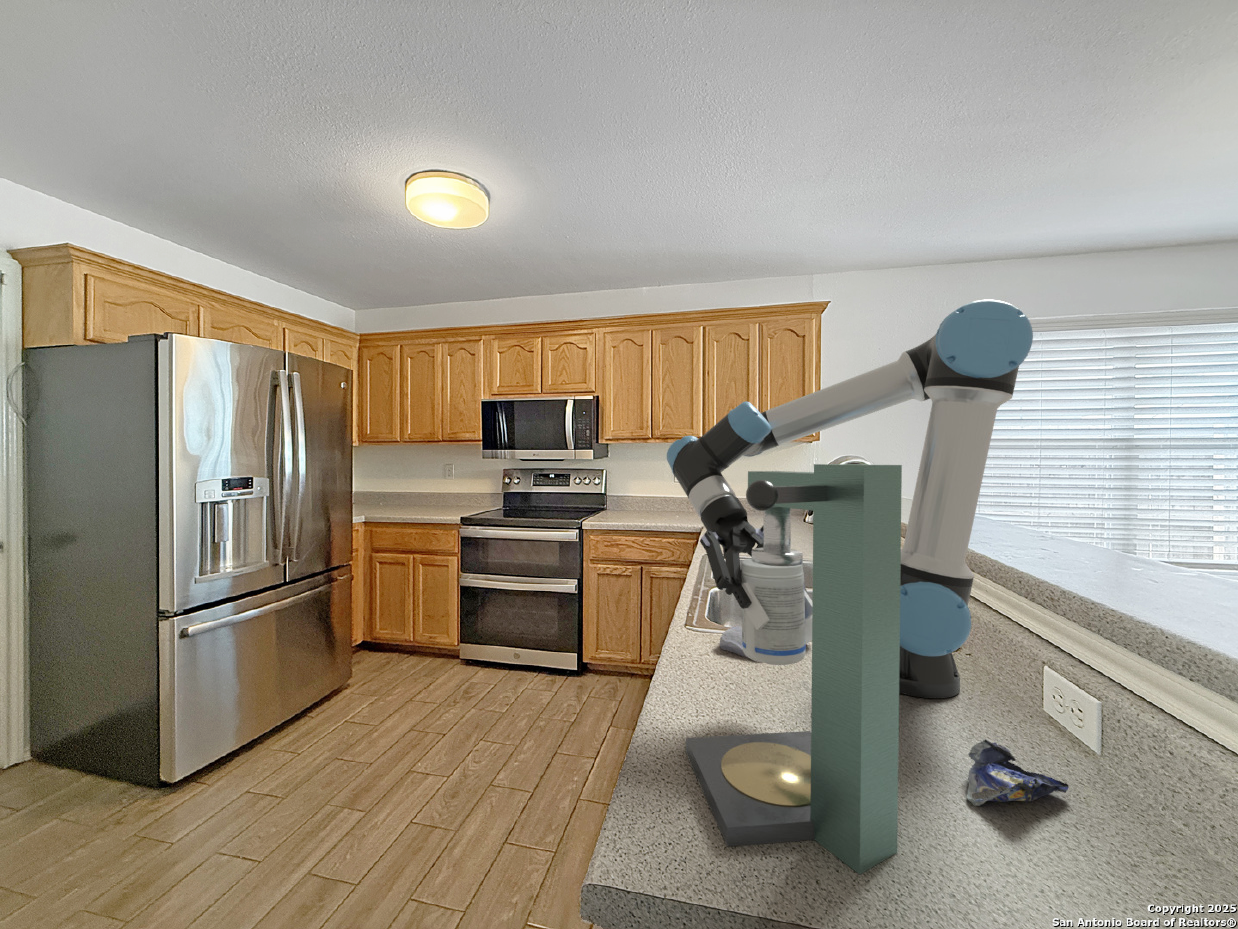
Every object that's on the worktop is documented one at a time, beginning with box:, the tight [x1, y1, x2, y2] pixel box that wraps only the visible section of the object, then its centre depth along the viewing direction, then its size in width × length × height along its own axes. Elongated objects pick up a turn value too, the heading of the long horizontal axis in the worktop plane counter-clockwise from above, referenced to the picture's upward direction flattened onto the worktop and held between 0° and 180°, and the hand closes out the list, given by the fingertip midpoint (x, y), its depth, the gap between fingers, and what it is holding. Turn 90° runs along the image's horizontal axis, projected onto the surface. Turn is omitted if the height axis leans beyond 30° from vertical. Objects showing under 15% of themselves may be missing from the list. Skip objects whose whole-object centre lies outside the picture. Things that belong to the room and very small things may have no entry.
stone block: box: [719, 625, 750, 659], centre depth 113 cm, size 12×5×10 cm
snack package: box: [966, 738, 1070, 807], centre depth 66 cm, size 12×7×12 cm
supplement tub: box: [740, 557, 807, 666], centre depth 83 cm, size 10×10×15 cm
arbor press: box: [685, 463, 903, 875], centre depth 63 cm, size 18×23×40 cm
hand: (788, 619), depth 81 cm, fingers closed on supplement tub, 9 cm apart
